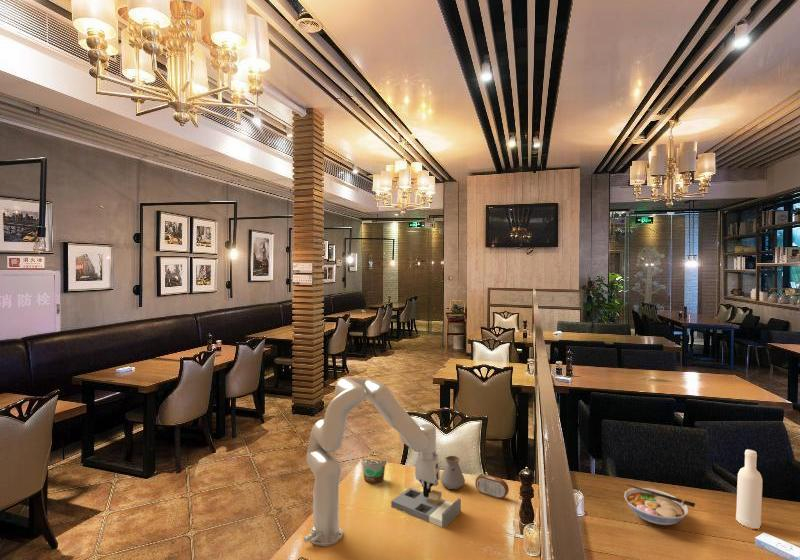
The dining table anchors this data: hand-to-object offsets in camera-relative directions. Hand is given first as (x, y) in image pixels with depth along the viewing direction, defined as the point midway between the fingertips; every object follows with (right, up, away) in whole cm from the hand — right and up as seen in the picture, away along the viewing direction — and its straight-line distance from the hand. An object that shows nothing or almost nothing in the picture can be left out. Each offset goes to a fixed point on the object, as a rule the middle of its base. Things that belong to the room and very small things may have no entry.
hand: (427, 495), depth 191 cm
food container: (-25, -3, +20) cm, 32 cm away
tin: (+29, -4, +8) cm, 31 cm away
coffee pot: (+12, -4, +12) cm, 17 cm away
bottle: (+128, -5, -13) cm, 129 cm away
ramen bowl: (+93, -5, -10) cm, 93 cm away
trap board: (-1, -4, -3) cm, 5 cm away
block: (+3, -2, -2) cm, 4 cm away
